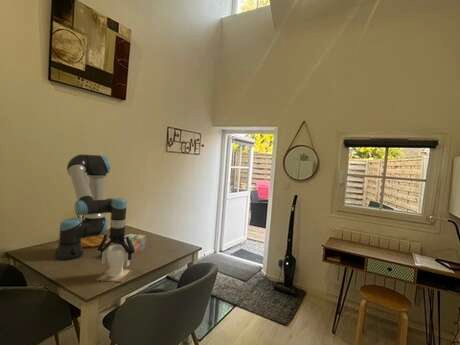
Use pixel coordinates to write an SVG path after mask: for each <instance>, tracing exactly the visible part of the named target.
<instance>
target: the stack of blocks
mask: <svg viewBox="0 0 460 345" xmlns="http://www.w3.org/2000/svg"><path fill="white" fill-rule="evenodd" d="M125 236H130V239H131V242H132V244H133V247H134V249H135V253H133V254H132V255H134V254H136V253H138V252H140V251H142V250H145V249H146V246H147V245H146V244H147V243H146V242H147V235H145V234H144V235H143V234H133V233H129V234H126V235H125ZM124 241H125V243H126V244H127V241H126V239H124ZM122 243H123V242H122ZM116 245H120V244H116ZM127 245H128V244H127ZM128 247H129V246H128ZM127 254H128V253H127Z"/></svg>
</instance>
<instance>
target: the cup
mask: <svg viewBox="0 0 460 345" xmlns="http://www.w3.org/2000/svg"><path fill="white" fill-rule="evenodd" d="M126 257H127V252H126V251H125V249H124V248H123V246H122V245H117V244H114V245H113V244H112V245H109V246H108V247H107V249H106V261H107V263H108V266H109V267H108V268H109V273H108V276H109V277H119V276H122V275H123V269H124V263H126Z"/></svg>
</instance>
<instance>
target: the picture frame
mask: <svg viewBox="0 0 460 345" xmlns="http://www.w3.org/2000/svg"><path fill="white" fill-rule="evenodd" d="M133 271H134V270H133V269H130V268H123V275H122V276H119V277H109V276H108V273H109V267H107V269H106V270H104V271H103V272H102V273H101V274H99V275H98V276H97V277H96V278H95V280H94V281H99V280H101V282H110V281H111V283H123V282H124V281H125V280H126V278H127V277H128V276H130V275H131V273H133Z"/></svg>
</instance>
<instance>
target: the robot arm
mask: <svg viewBox="0 0 460 345" xmlns="http://www.w3.org/2000/svg"><path fill="white" fill-rule="evenodd" d="M66 170H67V174H68V175H69V176H70V179H71V182H72V185H73V188H74V193H75V196H76V200H77V201H75V202H74V213H75V215H77V216H84V219H82V218H81V217H70V218H66V219H63V220H62V221H60V224H59V234H58V235H59V236H58V237H59V239H58V240H59V242H58V246H57V248H56V252H55V254H54V258H55V260H59V261H69V260H70V261H72V260H75V259H79V258H81V257H83V256H84V249H83V245H82V239H87V238H93V237H99V236H103V239H102V240H101V242H100V244H99V245H98V247H97V251H99V252H100V258H101V265H104V264H105V263H106V261H107V258H106V253H107V249H108V248H109V247H110V246H111V245H113V244H114V245H117V244H120V245H122V246H123V248H124V249H125V251H126V252H127V253H128V254H127V257H126V260H125V267H128V266H130V261H131V260H132V255H134V254H136V253H135V249H134V247H133V244H132V242H131V239H130V236H126V235H125V234H126V218H127V217H126V216H127V205H128V204H127V199H126V198H124V197H123V198H122V197H118V198H117V197H114V198H111V197H108V198H106V199H104V185H105V184H104V183H105V182H104V181H105V178H106V177H107V175H108V174H109V173H110V171H111V163H110V160H109V158H108V157H107V156H106V155H100V154H99V155H95V154H78V155H75V156H73V157H72V158H71V159H70V160H69V161H68V163H67V167H66ZM87 177H88V178H87ZM106 213H107V214H110V228H109V233H106V232H107V230H108V227H109V223H108V218H107V217H105V214H106ZM105 233H106V234H105ZM108 239H110V240H109V241H108ZM124 239H126V241H127V244H128V245H127V244H126V243H125V241H124ZM107 241H108V242H107ZM106 242H107V243H106ZM122 242H123V243H122ZM105 243H106V244H105ZM128 246H129V247H128ZM133 253H134V254H133Z"/></svg>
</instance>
